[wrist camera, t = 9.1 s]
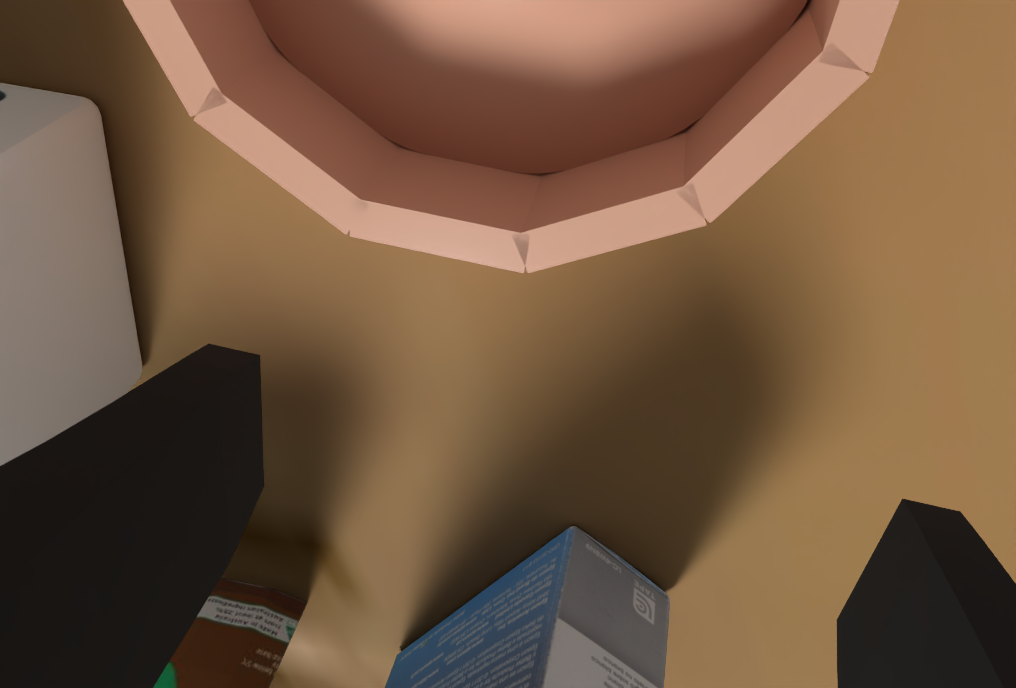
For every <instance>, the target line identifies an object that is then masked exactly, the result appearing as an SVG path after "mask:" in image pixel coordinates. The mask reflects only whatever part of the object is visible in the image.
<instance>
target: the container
mask: <svg viewBox="0 0 1016 688" xmlns="http://www.w3.org/2000/svg"><path fill="white" fill-rule="evenodd" d="M142 368H143V367H142V361H141V355H140V349H139V343H138V337H137V331H136V324H135V318H134V312H133V306H132V300H131V294H130V288H129V282H128V276H127V270H126V264H125V258H124V252H123V246H122V239H121V233H120V227H119V221H118V215H117V209H116V203H115V197H114V191H113V185H112V179H111V173H110V167H109V161H108V154H107V148H106V142H105V136H104V130H103V124H102V118H101V114H100V111H99V109H98V107H97V106H96V105H95V104H94V103H93V102H92V100H90V99H87V98H85V97H82V96H76V95H70V94H64V93H58V92H52V91H47V90H41V89H35V88H29V87H23V86H17V85H12V84H6V83H0V466H1V465H3V464H5V463H7V462H8V461H10V460H12V459H14V458H16V457H18V456H20V455H21V454H23V453H25V452H27V451H29V450H31V449H33V448H34V447H36V446H38V445H40V444H42V443H44V442H46V441H47V440H49V439H51V438H53V437H54V436H56V435H58V434H59V433H61V432H63V431H64V430H66V429H68V428H69V427H71V426H73V425H75V424H76V423H78V422H80V421H81V420H83V419H85V418H86V417H88V416H90V415H91V414H93V413H95V412H96V411H98V410H100V409H102V408H103V407H105V406H107V405H108V404H110V403H112V402H113V401H115V400H117V399H118V398H120V397H122V396H123V395H125V394H127V392H128V391H129V390H130V389H131V388H132V387H133V386H134V384H135V383H136V382H137V381H138V380H139V379H140V376H141V374H142Z"/></svg>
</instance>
